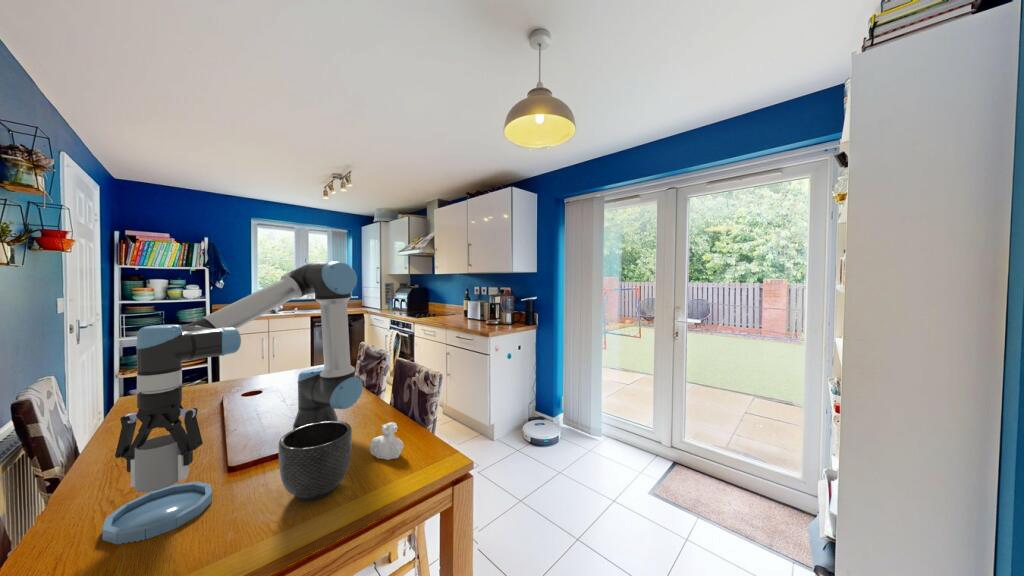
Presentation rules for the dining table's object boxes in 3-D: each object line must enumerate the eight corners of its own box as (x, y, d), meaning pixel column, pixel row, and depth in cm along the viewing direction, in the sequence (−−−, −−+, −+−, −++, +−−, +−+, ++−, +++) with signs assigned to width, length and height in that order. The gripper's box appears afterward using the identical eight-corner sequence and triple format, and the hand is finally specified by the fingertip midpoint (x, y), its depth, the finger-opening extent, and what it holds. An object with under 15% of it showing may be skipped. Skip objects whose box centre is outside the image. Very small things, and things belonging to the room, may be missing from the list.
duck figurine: (404, 463, 108) (415, 427, 115) (393, 459, 102) (405, 421, 109) (372, 459, 111) (384, 424, 117) (360, 454, 105) (373, 418, 111)
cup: (151, 494, 76) (151, 451, 76) (125, 490, 77) (124, 447, 77) (193, 474, 84) (193, 435, 84) (169, 470, 86) (168, 432, 86)
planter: (299, 523, 78) (298, 456, 78) (266, 497, 88) (266, 438, 87) (364, 485, 93) (364, 429, 93) (330, 466, 102) (330, 415, 102)
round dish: (226, 486, 92) (226, 477, 92) (181, 533, 75) (181, 523, 75) (144, 497, 87) (144, 488, 87) (77, 551, 70) (76, 540, 70)
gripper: (221, 381, 87) (221, 466, 87) (118, 387, 81) (118, 478, 81) (203, 390, 80) (203, 483, 80) (88, 397, 74) (89, 497, 74)
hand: (160, 480), depth 81 cm, fingers closed on cup, 8 cm apart
